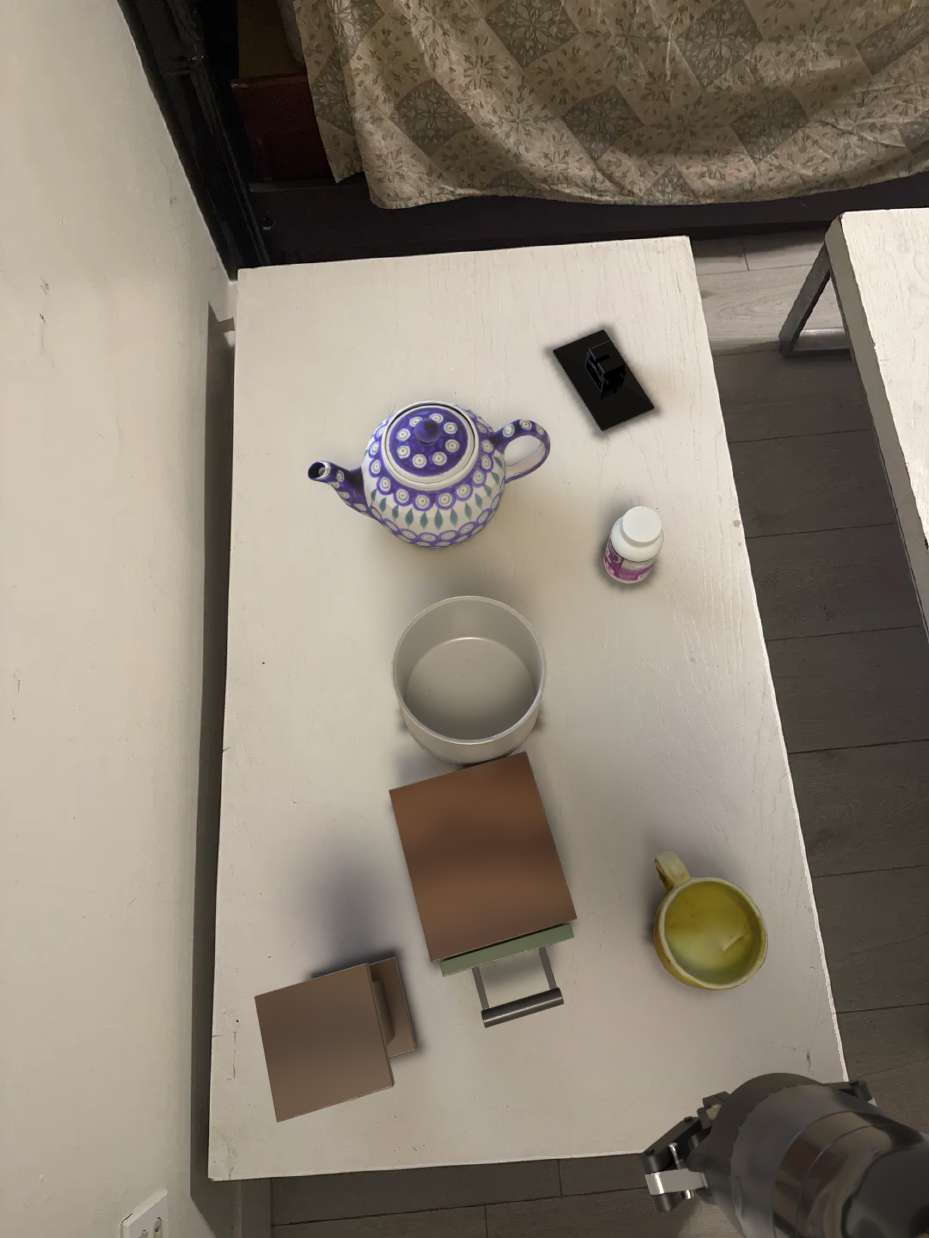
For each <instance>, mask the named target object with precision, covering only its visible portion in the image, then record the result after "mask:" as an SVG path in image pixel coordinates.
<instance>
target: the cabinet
mask: <svg viewBox="0 0 929 1238" xmlns="http://www.w3.org/2000/svg"><path fill="white" fill-rule="evenodd" d="M388 794H389V799H390V803H391V807H392V810H393V815H394V819H395V822H396V826H397V830H398V834H399V838H400V842H401V846H402V850H403V853H404V854H403V856H404V858H405V863H406V867H407V871H408V875H409V879H410V883H411V887H412V891H413V895H414V899H415V903H416V906H417V907H416V908H417V911H418V915H419V920H420V923H421V927H422V931H423V936H424V940H425V943H426V948H427V951H428V955H429V959H430V960H429V961H430V963H434V962H437V961H442V960H444V959H448V958H451V957H454V956H458V955H461V954H464V953H468V952H471V951H474V950H478V949H481V948H484V947H488V946H491V945H494V944H498V943H501V942H504V941H508V940H511V939H514V938H518V937H521V936H524V935H528V934H531V933H534V932H538V931H541V930H544V929H548V928H551V927H554V926H558V925H561V924H566V923H568V922H571V921H575V920H578V914H577V913H576V909H575V906H574V901H573V899H572V895H571V892H570V889H569V886H568V883H567V880H566V877H565V874H564V870H563V866H562V863H561V860H560V856H559V853H558V850H557V847H556V844H555V840H554V837H553V834H552V831H551V827H550V825H549V821H548V818H547V815H546V811H545V808H544V804H543V801H542V799H541V795H540V792H539V788H538V785H537V782H536V778H535V776H534V772H533V769H532V765H531V763H530V760H529V756H528V753H527V751H522V752H518V753H514V754H510V755H508V756H507V757H504V758H500V759H497V760H493V761H490V762H486V763H483V764H479V765H475V766H472V767H468V768H465V769H463V768H462V769H458V770H454V771H452V772H451V771H450V772H448V773H444V774H441V775H437V776H434V777H433V776H432V777H430V778H427V779H423V780H419V781H416V782H412V783H409V784H405V785H401V786H398V787H394V788H391V789H388Z"/></svg>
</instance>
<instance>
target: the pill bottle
mask: <svg viewBox="0 0 929 1238" xmlns="http://www.w3.org/2000/svg"><path fill="white" fill-rule="evenodd" d="M664 538H665V535H664V531H663V520H662V517H661V516H660V514H659V513H658V512H657V511H655V509H653V508H651V507H648V506H645V505H638V506H634V507H632V508H629V509H628V510H627V511H626V512H625V513H624V514H623V515H621V516H620V517H619V518H618V519H617V520H616V521H615V522H614V524H613V525H612V528H611V531H610V534H609V537H608V541H607V544H606V548H605V550H604V555H603V566H604V569H605V571H606V573H607V574H608V575H609V576H610V577H611V578H612V579H613V580H615V581H616V582H619V583H622V584H635V583H638V582H641V581H643V580H644V579H645V578H646V577H648V575H649V574H650V572H651V571H652V568H653V567H654V564H655V562H656V560H657V559H658V556H659V555H660V551H661V550H662V549H663V548H662V547H663V545H664V540H665V539H664Z"/></svg>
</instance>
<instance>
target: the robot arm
mask: <svg viewBox="0 0 929 1238" xmlns="http://www.w3.org/2000/svg"><path fill="white" fill-rule="evenodd" d="M701 1101H702V1104H703V1106H701V1107H699V1108H697V1109H696V1114H697V1116H692V1115H689V1116H686V1117H684V1118H683V1119H682V1120H680V1121H679V1122H678V1123H676V1124H675V1125H674V1126H673V1127H671V1128H670V1129H669V1130H668V1131H666V1132H665V1133H664V1134H663V1135H662V1136H660V1137H659V1138H658V1139H657V1140H655V1141H654V1142H653V1143H652V1144H651V1145H650V1146H648V1147H647V1148H645V1149H644V1150H643V1151H642V1152H641V1153H640V1154H639V1155H638V1159H639V1162H640V1166H641V1169H642V1172H643V1175H644V1178H645V1181H646V1185H647V1188H648V1191H649V1194H650V1197H651V1201H652V1203H653V1207H654V1210H655V1212H656V1213H665V1214H666V1213H670V1212H672V1211H674V1209H676V1208H678V1206H680V1205H681V1204H682V1202H684V1200H685V1199H686V1200H691V1199H692V1198H694V1196H695V1194H696V1196H697V1198H698V1199H699V1200H700V1201H702V1202H703V1203H704V1204H706V1205H711V1206H717V1207H718V1208H720V1210H721V1211H722V1213H723V1214H724V1216H725V1217H726V1219H727V1220H728V1222H729V1223H730V1224H731V1226H732V1227H733V1229H735V1230H736V1232H737V1233H738V1234H739V1235H740V1237H742V1238H929V1134H928V1133H925V1132H922V1131H920V1130H918V1129H916V1128H914V1127H911V1126H908V1125H906V1124H904V1123H901V1122H900V1121H899V1120H898V1119H897V1118H895V1117H893V1116H892V1115H891V1114H889V1113H888V1112H886V1111H885V1110H884V1109H882V1108H880V1107H878V1105H877V1102H876V1099H875V1097H874V1095H873V1094H872V1091H871V1089H870V1087H869V1084H868V1082H867V1080H864V1079H857V1078H856V1079H851V1080H847V1081H837V1082H836V1081H835V1082H828V1083H827V1082H825V1083H823V1082H820V1081H818V1080H815V1079H813V1078H810V1077H808V1076H804V1075H802V1074H797V1073H791V1072H770V1073H765V1074H761V1075H758V1076H756V1077H755V1076H754V1077H752V1078H750V1079H748V1080H746V1081H745V1082H743V1083H741V1084H740V1085H739V1086H737V1087H736V1088H735V1089H734V1090H733V1091H732V1092H731V1093H730V1092H728V1091H726V1090H723V1091H720V1092H717V1093H715V1094H712V1095H708V1096H705V1097H702V1098H701ZM694 1192H695V1193H694Z"/></svg>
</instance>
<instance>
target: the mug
mask: <svg viewBox="0 0 929 1238" xmlns="http://www.w3.org/2000/svg"><path fill="white" fill-rule="evenodd" d="M654 865H655V870H656V872H657V876H658V878H659V880H660V882H661V883H662V885H663V887H664V890H665V897H664V898H663V899H662V900H661V902H660V904H659V906H658V908H657V910H656V913H655V916H654V921H653V929H652V941H653V946H654V950H655V953H656V956H657V958H658V959H659V961H660V963H661V964H662V966H663V967H664V969H665V970H666V971H667V972H668V974H670V975H671V976H672V977H673V978H674V979H676V980H677V981H678V982H680V983H681V984H684V985H686V986H688V987H692V988H694V989H699V990H703V991H721V990H722V991H723V990H726V991H727V990H732V989H735V988H737V987H739V986H741V985H744V984H745V983H747V982H748V981H749V980H751V979H752V978H753V977H754V976H755V975H756V974H757V973H758V972H759V970H760V969H761V968H762V967H763V965H764V964H765V961H766V957H767V954H768V948H769V937H768V930H767V929H768V928H767V925H766V922H765V919H764V917H763V914H762V912H761V910H760V909H759V907H758V905H757V904H756V903H755V901H754V900H753V898H752V897H751V896H750V895H749V894H748V893H747V892H746V891H745V890H743V888H741V887H740V886H739V885H736V884H735V883H733V882H731V881H729V880H726V879H723V878H721V877H714V876H702V877H694V876H691V874H690V873H689V871H688V869H687V867H686V865H685V863H684V862H683V861H682V859H681V858H680V857H679V856H677V854H676V853H674V852H673V851H671V850H670V851H669V850H667V851H662V852H660V853H658V854H656V855H655V856H654Z"/></svg>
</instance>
